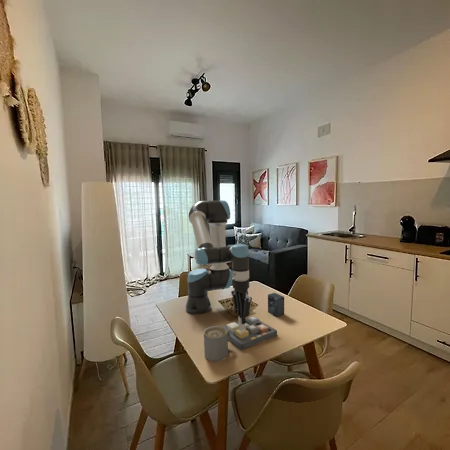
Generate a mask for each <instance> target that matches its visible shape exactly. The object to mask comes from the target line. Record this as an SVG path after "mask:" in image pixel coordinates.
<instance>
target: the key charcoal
mask: <svg viewBox="0 0 450 450" xmlns="http://www.w3.org/2000/svg"><path fill="white" fill-rule="evenodd" d="M246 330H247V331H249V333H250V334H251V335H252V334H255V333H257V332H259V328H258V327H257V326H255V325H254V324H252V325H249V326H246Z"/></svg>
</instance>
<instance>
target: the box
mask: <svg viewBox="0 0 450 450" xmlns="http://www.w3.org/2000/svg"><path fill="white" fill-rule="evenodd" d="M267 312H268V313H270V314H271V315H273V316H275V317H277V318H278V317H281V316H283V315H285V296H283V295H282V294H281V295H280V293H279V294H278V293H277V292H272V293H269V294H267Z"/></svg>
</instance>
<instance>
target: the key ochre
mask: <svg viewBox="0 0 450 450" xmlns="http://www.w3.org/2000/svg"><path fill="white" fill-rule="evenodd" d="M235 335H237V336H238V337H239V338H241V339H242V338H244V337H247V336H249V331H247V330H246V329H245V330H243V331H240V330H239V329H238V330H235Z"/></svg>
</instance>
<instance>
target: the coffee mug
mask: <svg viewBox="0 0 450 450" xmlns="http://www.w3.org/2000/svg"><path fill="white" fill-rule="evenodd" d="M229 339H230V331H229V330H228V329H226V328H224V326H222V325H211V326H209V327H207V328H205V329H204V331H203V348H204V351H203V352H204V358H205V359H206V360H208V361H210V362H220V361H223V360H225V359H226V358H227V357H228V355H229V345H228V344H229V343H228V342H230V341H229Z"/></svg>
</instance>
